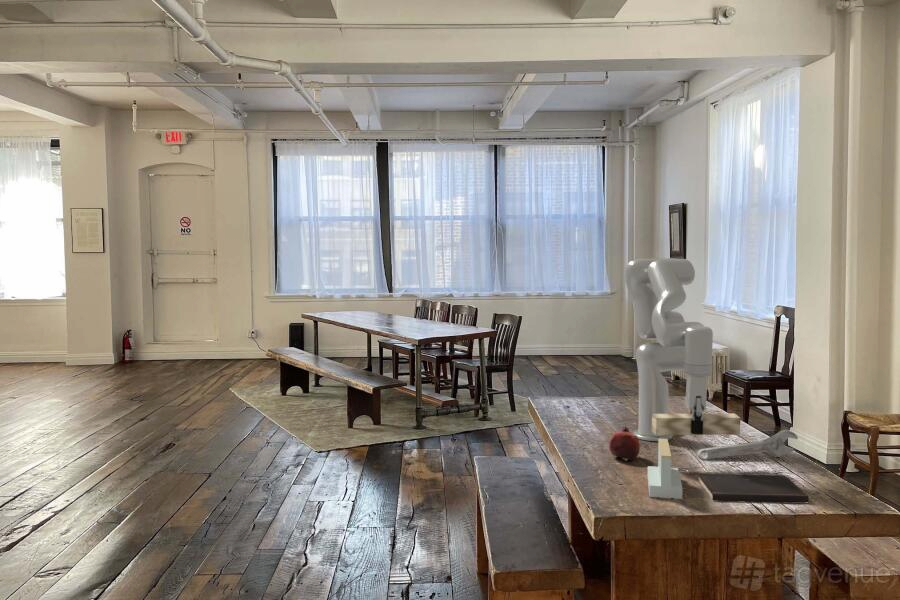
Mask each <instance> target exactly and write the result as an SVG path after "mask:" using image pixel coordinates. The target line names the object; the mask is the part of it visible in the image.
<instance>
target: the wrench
mask: <svg viewBox="0 0 900 600" xmlns="http://www.w3.org/2000/svg"><path fill="white" fill-rule="evenodd" d="M789 438H792V439H795V440H799V437H798V436H797V434H796V433H795V432H793V431H791V430H788V429H782V430H780V431H778V432H777V433H775V434H772V436H770V437H767V438H765V439H763V440H760V441H755V442H745V443H737V444H729V445H728V444H727V445H722V446H715V447H706V448H705V447H704V448H700V449H698V451H697V457H698V458H699V459H700V460H713V459H720V458H725V457H734V456H741V455H747V454H752V453H762V452H766V453H771V454H773V458H775V457H777V458H778V457H780V458H781V456H787V455H789V454H791V453H793V452H794V451H795V448H793V447H790V446H786V445H785V442H786V441H787V440H788V439H789ZM702 452H706V454H705V456H703V457H702V456H701V454H702Z"/></svg>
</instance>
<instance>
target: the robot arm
mask: <svg viewBox="0 0 900 600" xmlns="http://www.w3.org/2000/svg"><path fill="white" fill-rule="evenodd" d="M695 273H696V270H695V268H694V265H693V264H692V262H691V261H690V260H689V259H686V258H674V257H673V258H671V257H669V258H665V257H664V258H654V257H653V258H652V257H651V258H637V259H634V260H631V261H629V262H628V263H627V265H626V267H625V270H624V280H625V284H626V288H627V290H628V292H629V295H630V297H631V300H632V304H633V313H634V319H635V326H636V327H635V328H636V333H637V335H638V337H640V338H641V339H642V340H656V341H658V342H647V343H643V344H640V345H639V346H638V347H637V349H636V353H635V359H636V365H637V366H636V367H637V375H638V427H637V428H638V429H635V430H634V431H633V434H634V435H636V437H637V438H638V440H642V441H647V442H648V441H649V442H658V438H660V439H668V441H670V440H672V439H673V437H674V435H655V434H654V433H653V431H652V414H669V383H668V381H667V380H666V378H665V377H664V375H663V374H662V373H663V372H677V371H679V372H680V371H683V375H685V376H686V384H685V385H686V386H685V407H686V409H687V410H688V411H689V414H692V420H691V433H692V434H703V414H704V411H706V409H707V408H706V407H707V391H708V378H709V377H711V376H712V374H713V373H712V372H713V370H712V368H713V366H712V365H713V342H714V340H713V339H714V338H713V337H714V335H713V334H714V333H713V330H712V328H711V327H709V326H705V325H704V324H703V323H701V322H699V321H685V318H684V316H683V315H682V314H681V313H680V312H678V311H676V309H677V308H679V307H680V306H681V305H683V304H684V302H686V301H685V300H686V298H687V294H686V293H687V292H686V291H685V288H684V287H683V286H688V285H691V284H692V283H693V281H695V275H696V274H695ZM648 284H649V285H650V284H651V286H652V288H651V287H650V286H649V285H648Z"/></svg>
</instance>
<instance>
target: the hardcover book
mask: <svg viewBox="0 0 900 600" xmlns="http://www.w3.org/2000/svg"><path fill="white" fill-rule="evenodd" d="M697 477H698V478H697V479H698V481H699V483H700V484H701V486H702V485H703V486H702V487H703V488H704V490H705V489H706V490H705V491H706V492H707V494H708V495H709V496H711V497H710V498H711V499H712V500H718V501H717V502H739V501H745V502H747V503H749V502H750V503H778V502H809V500H810V499H809V495H808V494H807V493H806V492H804V491H803V490H802V489H801V488H800V487H799V486H797V485H796V483H794V482H793V481H792V480H791V479H790V478H789V477H788V476H786V475H785V474H783V475H782V474H781V475H780V474H778V475H777V474H743V473H741V474H738V473H737V474H736V473H734V474H733V473H729V474H728V473H697Z"/></svg>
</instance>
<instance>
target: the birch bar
mask: <svg viewBox="0 0 900 600" xmlns="http://www.w3.org/2000/svg"><path fill="white" fill-rule="evenodd" d="M691 420H692V414H690V413H668V414H652V431H653V433H654V434H655V435H673V436H705V435H706V436H710V435H711V436H721V435H722V436H726V435H727V436H735V435H741V417H740V415H739V416H738V415H737V414H736V413H727V412H726V413H724V412H723V413H703V434H692V433H691Z"/></svg>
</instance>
